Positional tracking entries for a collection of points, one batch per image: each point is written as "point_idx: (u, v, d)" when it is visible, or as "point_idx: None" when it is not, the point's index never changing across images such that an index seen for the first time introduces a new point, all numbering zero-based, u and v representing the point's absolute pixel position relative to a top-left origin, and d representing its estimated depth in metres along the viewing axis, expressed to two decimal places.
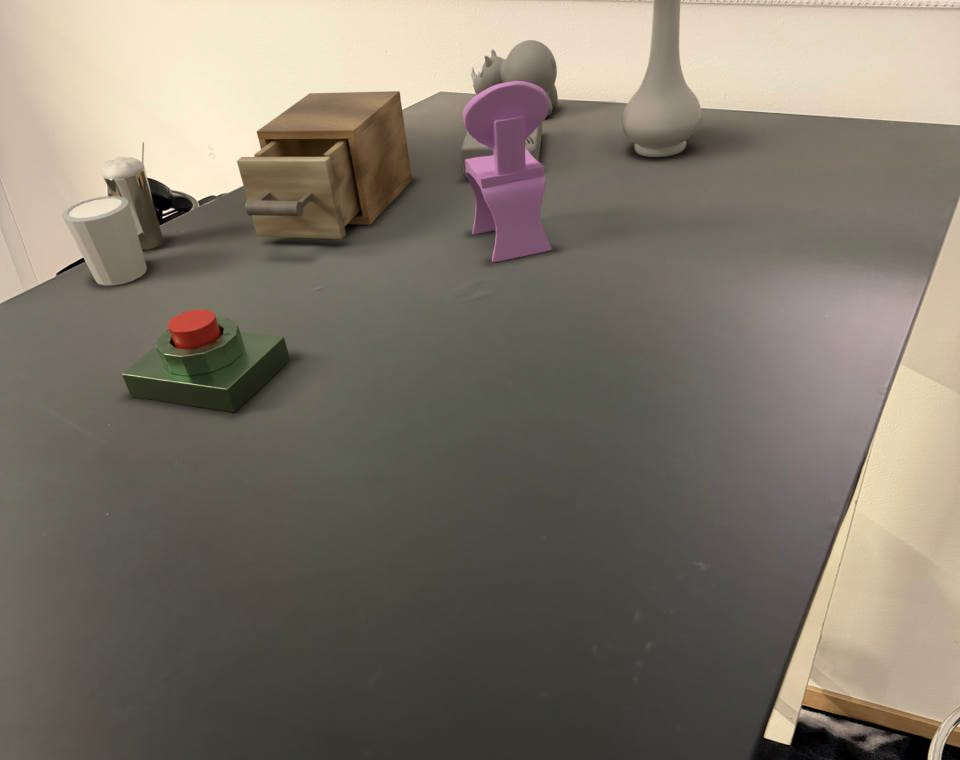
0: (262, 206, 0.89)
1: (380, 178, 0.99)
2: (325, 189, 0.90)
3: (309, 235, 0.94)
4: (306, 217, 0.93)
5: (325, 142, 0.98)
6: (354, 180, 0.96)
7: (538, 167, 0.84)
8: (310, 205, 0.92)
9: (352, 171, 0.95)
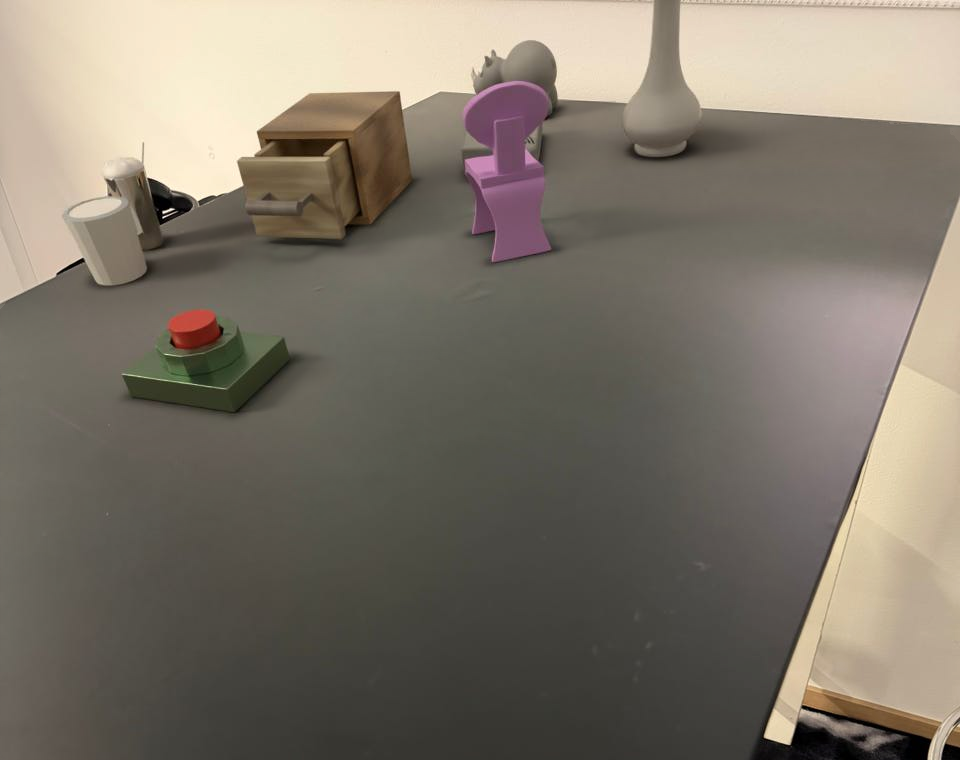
0: (262, 206, 0.89)
1: (380, 178, 0.99)
2: (325, 189, 0.90)
3: (309, 235, 0.94)
4: (306, 217, 0.93)
5: (325, 142, 0.98)
6: (354, 180, 0.96)
7: (538, 167, 0.84)
8: (310, 205, 0.92)
9: (352, 171, 0.95)
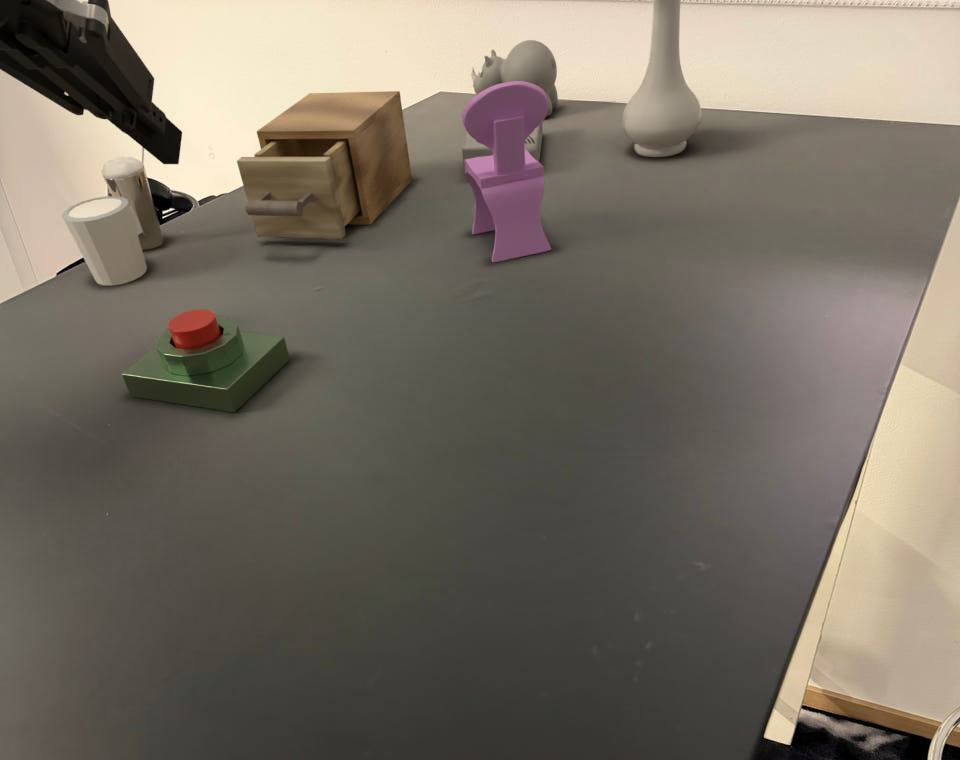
0: (262, 206, 0.89)
1: (380, 178, 0.99)
2: (325, 189, 0.90)
3: (309, 235, 0.94)
4: (306, 217, 0.93)
5: (325, 142, 0.98)
6: (354, 180, 0.96)
7: (538, 167, 0.84)
8: (310, 205, 0.92)
9: (352, 171, 0.95)
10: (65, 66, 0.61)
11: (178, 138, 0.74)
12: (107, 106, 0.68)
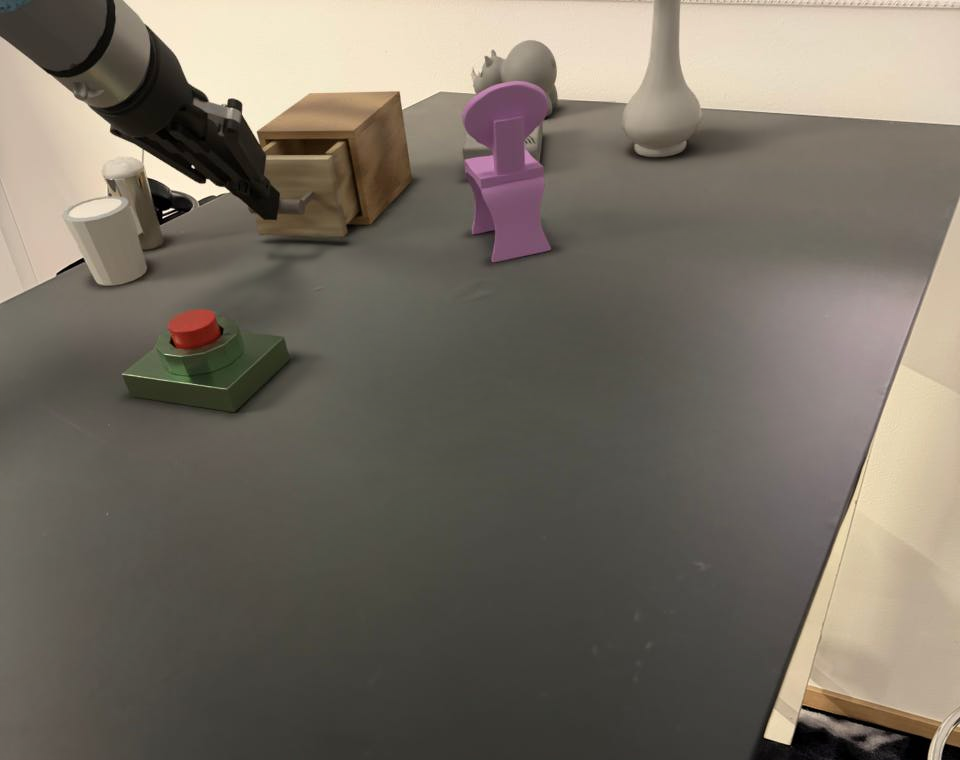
0: None
1: (380, 178, 0.99)
2: (327, 187, 0.90)
3: (311, 233, 0.95)
4: (308, 215, 0.93)
5: (327, 141, 0.99)
6: None
7: (537, 167, 0.84)
8: (312, 203, 0.92)
9: None
10: (202, 152, 0.75)
11: (277, 198, 0.89)
12: (226, 177, 0.82)
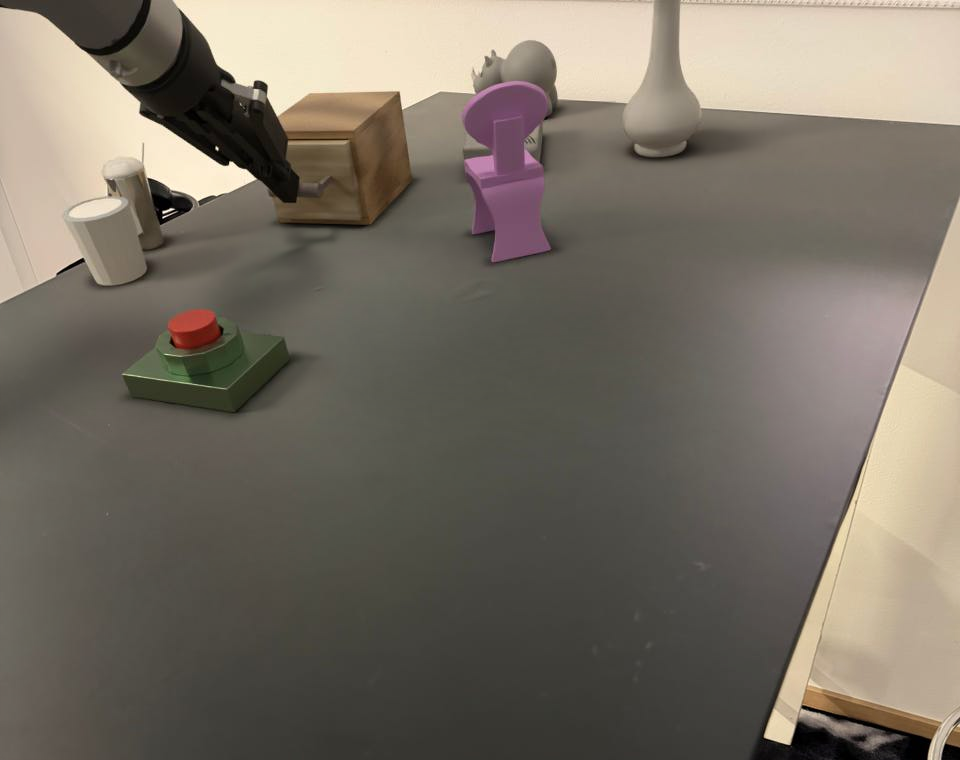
0: None
1: (380, 178, 0.99)
2: (345, 171, 0.93)
3: (328, 217, 0.98)
4: (325, 199, 0.96)
5: None
6: None
7: (537, 167, 0.84)
8: (329, 187, 0.95)
9: None
10: (228, 132, 0.78)
11: (296, 182, 0.91)
12: (248, 159, 0.85)
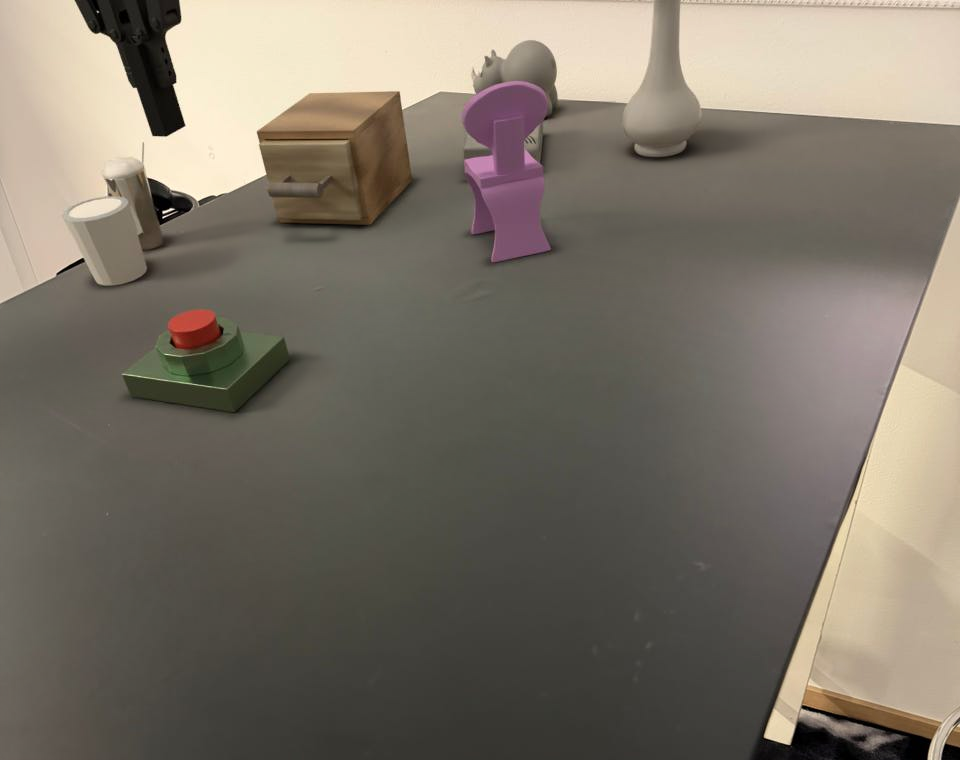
0: (284, 188, 0.93)
1: (380, 178, 0.99)
2: (345, 171, 0.93)
3: (328, 217, 0.98)
4: (325, 199, 0.96)
5: None
6: None
7: (537, 167, 0.84)
8: (329, 187, 0.95)
9: None
10: None
11: (178, 123, 0.73)
12: (125, 32, 0.68)
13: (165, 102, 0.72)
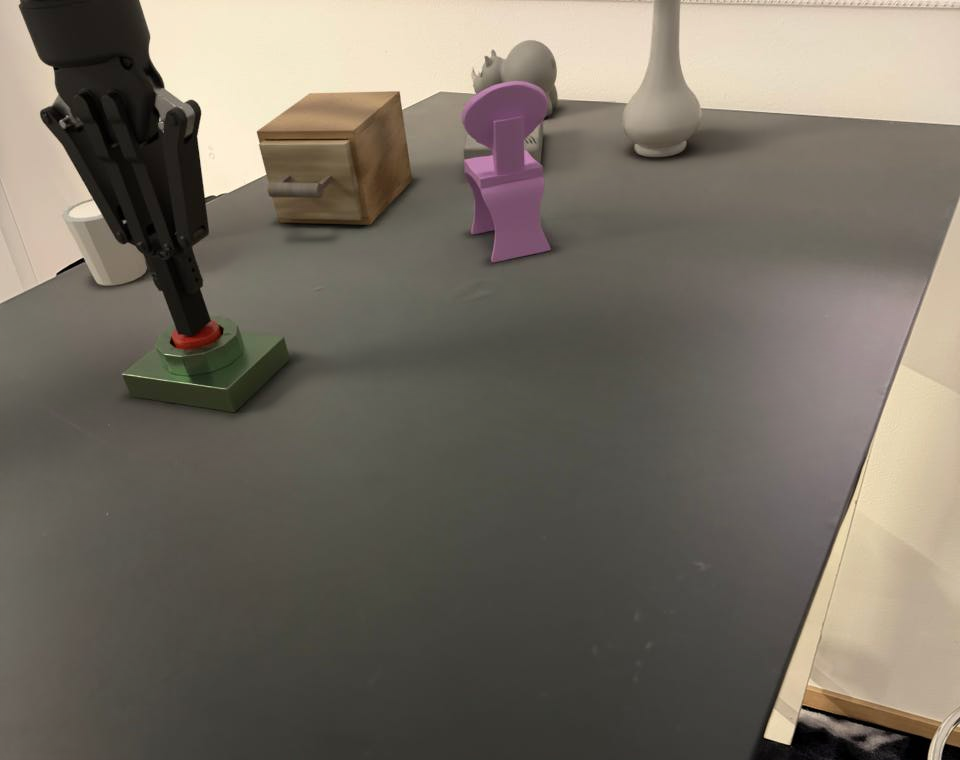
0: (284, 188, 0.93)
1: (380, 178, 0.99)
2: (345, 171, 0.93)
3: (328, 217, 0.98)
4: (325, 199, 0.96)
5: None
6: None
7: (537, 167, 0.84)
8: (329, 187, 0.95)
9: None
10: (132, 155, 0.62)
11: (204, 320, 0.73)
12: (153, 243, 0.68)
13: (191, 304, 0.71)
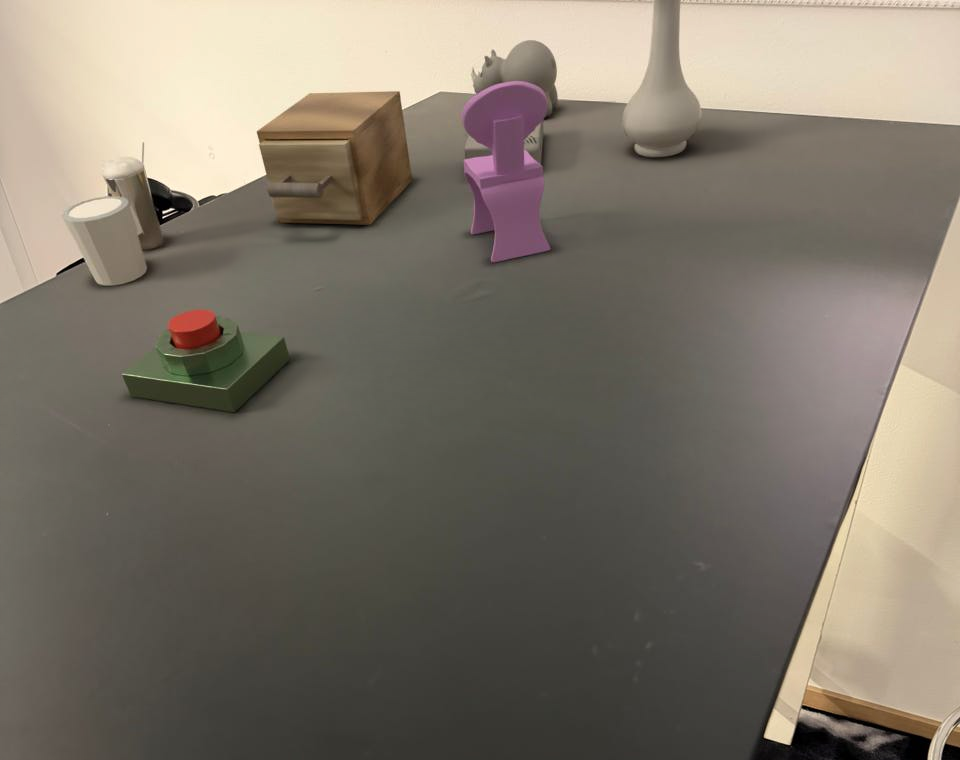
0: (284, 188, 0.93)
1: (380, 178, 0.99)
2: (345, 171, 0.93)
3: (328, 217, 0.98)
4: (325, 199, 0.96)
5: None
6: None
7: (537, 167, 0.84)
8: (329, 187, 0.95)
9: None
10: None
11: None
12: None
13: None
